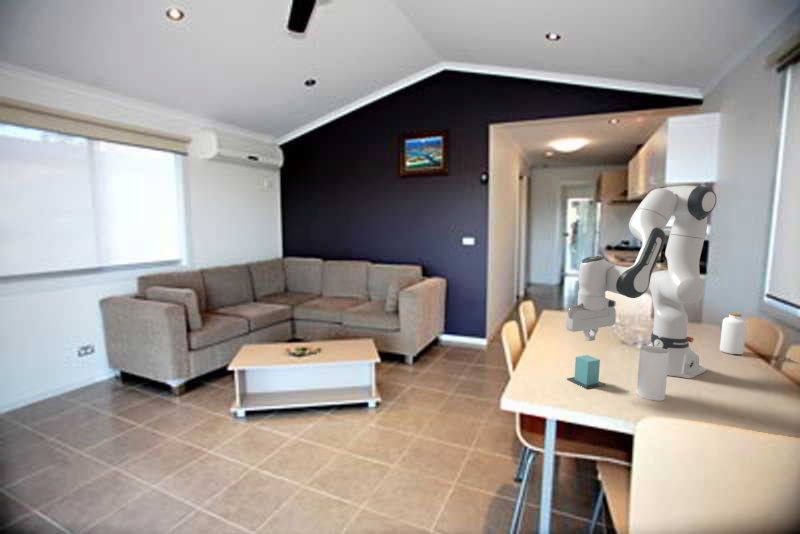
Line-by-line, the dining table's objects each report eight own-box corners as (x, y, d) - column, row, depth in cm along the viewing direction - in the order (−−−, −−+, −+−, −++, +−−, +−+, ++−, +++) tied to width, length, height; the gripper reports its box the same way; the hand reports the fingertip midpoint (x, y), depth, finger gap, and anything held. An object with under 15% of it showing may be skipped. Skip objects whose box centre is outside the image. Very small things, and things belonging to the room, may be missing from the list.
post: (585, 376, 154) (586, 357, 153) (605, 385, 146) (606, 365, 145) (567, 379, 151) (568, 360, 150) (586, 389, 142) (587, 369, 141)
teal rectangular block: (585, 377, 152) (587, 354, 151) (598, 382, 146) (599, 359, 145) (574, 379, 150) (575, 356, 148) (586, 385, 144) (588, 361, 143)
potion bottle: (723, 354, 181) (727, 314, 179) (716, 348, 189) (720, 310, 187) (746, 356, 178) (751, 316, 176) (738, 351, 186) (743, 312, 184)
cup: (669, 401, 133) (673, 354, 131) (641, 399, 135) (645, 352, 133) (658, 391, 141) (662, 346, 139) (632, 389, 143) (636, 344, 141)
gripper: (575, 307, 138) (574, 346, 140) (619, 301, 146) (618, 338, 147) (561, 303, 144) (561, 342, 145) (604, 298, 151) (603, 334, 153)
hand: (590, 340), depth 146 cm, fingers closed
